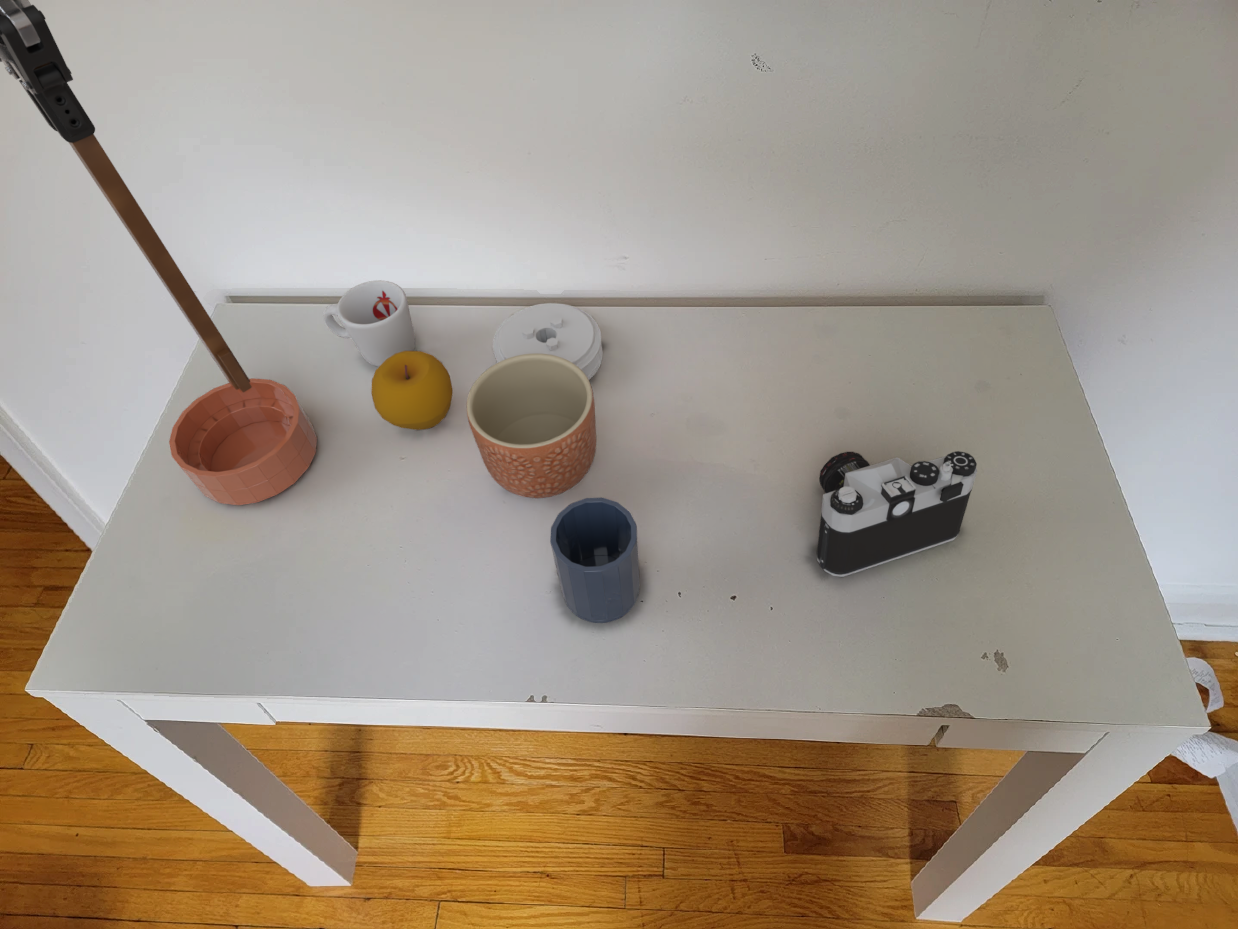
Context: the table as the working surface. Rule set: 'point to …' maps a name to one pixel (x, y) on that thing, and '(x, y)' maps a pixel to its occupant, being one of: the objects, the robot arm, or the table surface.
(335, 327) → the cup
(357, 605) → the table surface
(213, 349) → the stick
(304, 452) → the bowl
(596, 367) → the white thick round disc
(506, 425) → the planter
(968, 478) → the camera
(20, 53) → the robot arm
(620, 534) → the crock
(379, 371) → the apple
